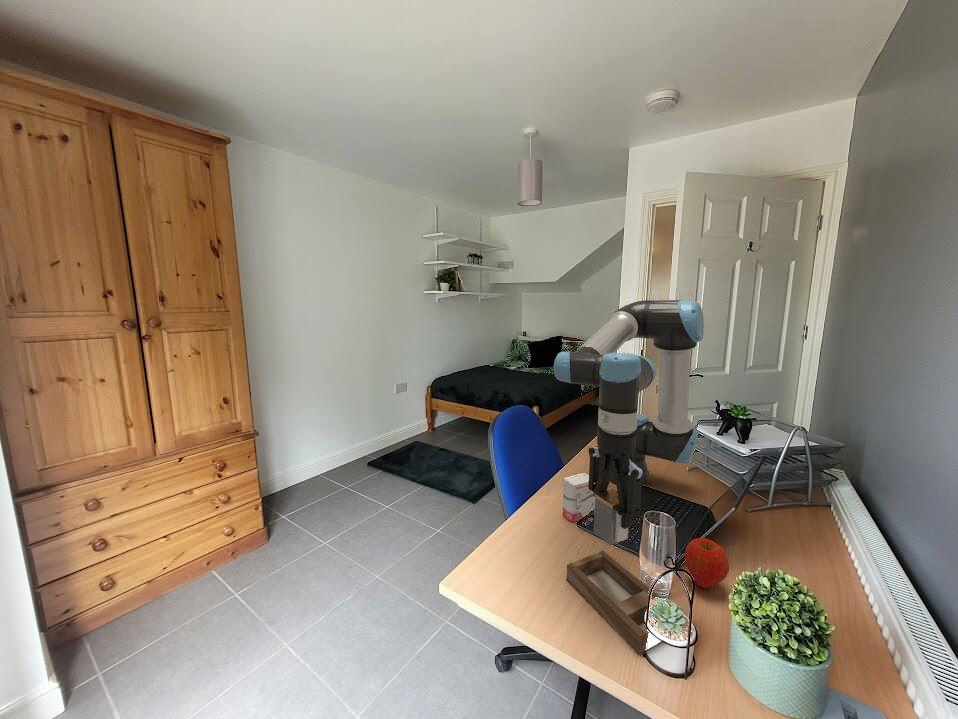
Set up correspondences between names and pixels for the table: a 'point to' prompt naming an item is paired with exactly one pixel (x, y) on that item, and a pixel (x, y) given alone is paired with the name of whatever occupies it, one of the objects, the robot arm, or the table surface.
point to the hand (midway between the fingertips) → (610, 531)
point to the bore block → (613, 595)
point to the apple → (706, 562)
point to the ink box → (577, 497)
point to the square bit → (606, 515)
